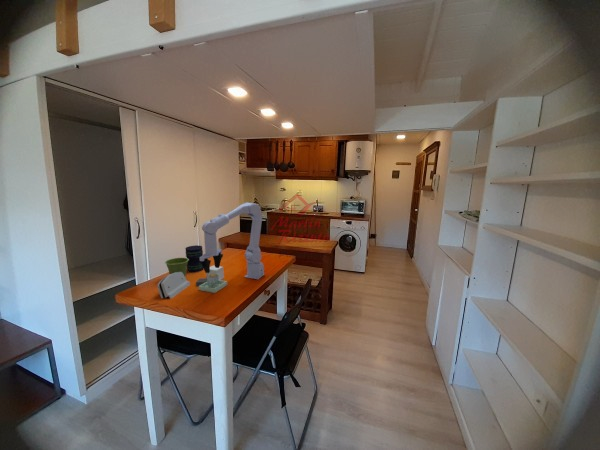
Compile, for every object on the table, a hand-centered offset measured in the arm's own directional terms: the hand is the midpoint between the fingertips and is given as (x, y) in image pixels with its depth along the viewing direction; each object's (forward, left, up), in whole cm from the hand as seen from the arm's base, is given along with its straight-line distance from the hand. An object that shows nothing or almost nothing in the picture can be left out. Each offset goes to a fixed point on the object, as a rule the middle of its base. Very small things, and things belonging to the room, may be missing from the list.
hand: (212, 270), depth 117 cm
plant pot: (+26, -2, -10) cm, 28 cm away
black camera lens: (+28, -17, -10) cm, 34 cm away
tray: (0, 0, -10) cm, 10 cm away
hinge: (+16, +10, -10) cm, 22 cm away
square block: (+9, -1, -10) cm, 13 cm away
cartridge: (0, 0, -9) cm, 9 cm away
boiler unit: (+6, -9, -10) cm, 15 cm away
